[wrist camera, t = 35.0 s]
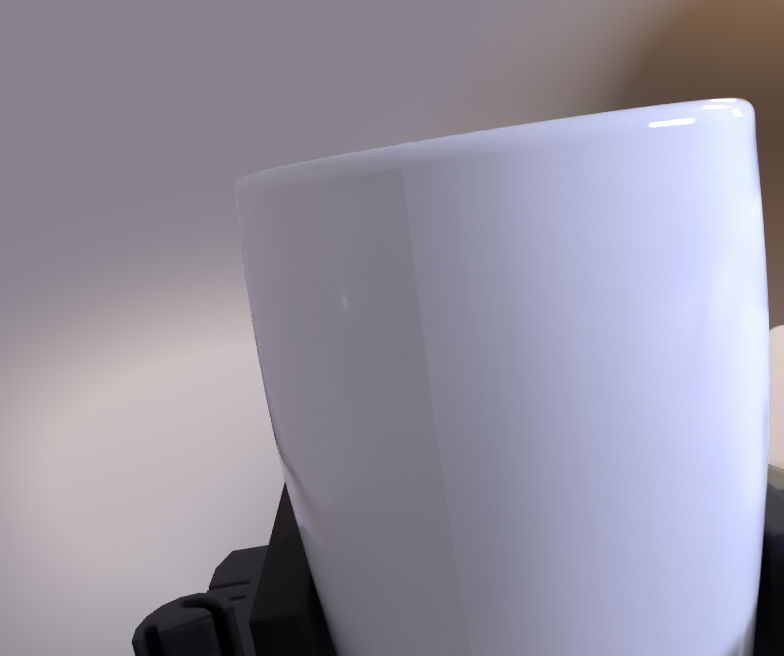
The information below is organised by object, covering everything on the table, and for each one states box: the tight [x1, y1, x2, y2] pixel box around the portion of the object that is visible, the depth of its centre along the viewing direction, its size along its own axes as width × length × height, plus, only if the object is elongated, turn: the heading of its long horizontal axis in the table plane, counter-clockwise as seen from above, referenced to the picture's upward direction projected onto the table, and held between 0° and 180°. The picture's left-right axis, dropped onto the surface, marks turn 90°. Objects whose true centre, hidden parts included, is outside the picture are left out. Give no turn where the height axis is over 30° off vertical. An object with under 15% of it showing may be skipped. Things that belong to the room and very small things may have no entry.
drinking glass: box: [233, 98, 770, 656], centre depth 11 cm, size 7×7×15 cm
